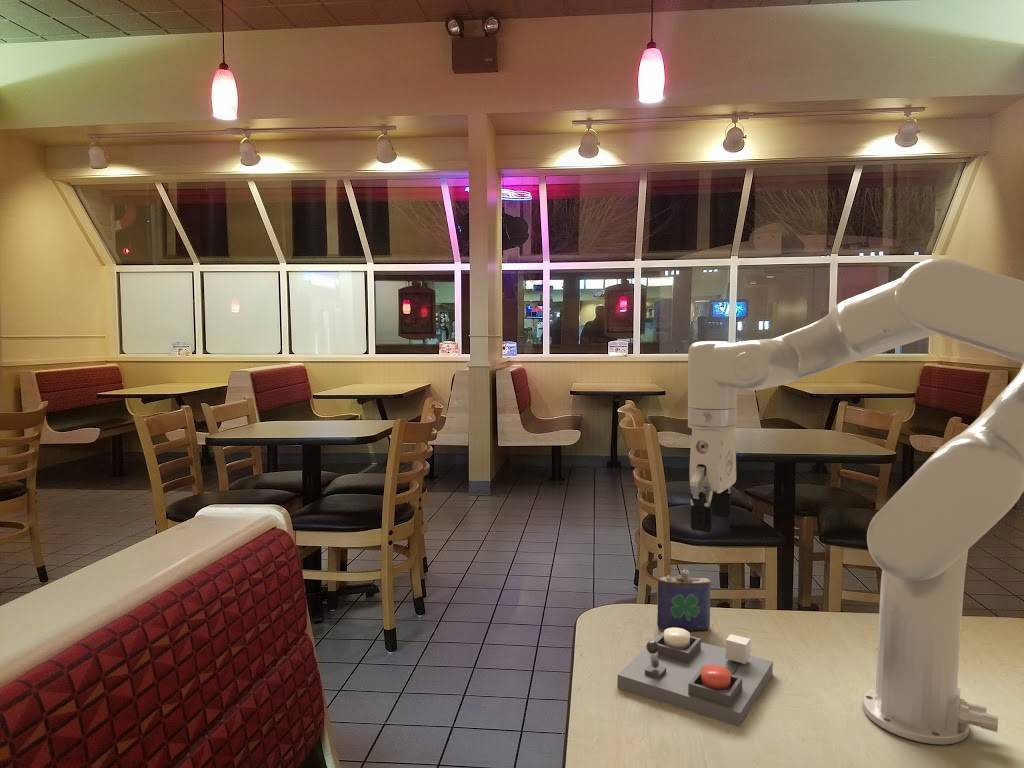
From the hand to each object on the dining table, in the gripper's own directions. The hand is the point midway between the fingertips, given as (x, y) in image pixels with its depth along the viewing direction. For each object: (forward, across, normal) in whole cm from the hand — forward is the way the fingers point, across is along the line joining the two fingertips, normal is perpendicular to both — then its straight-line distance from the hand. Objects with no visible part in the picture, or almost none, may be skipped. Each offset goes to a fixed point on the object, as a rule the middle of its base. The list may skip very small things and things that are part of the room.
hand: (711, 523), depth 112 cm
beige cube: (+19, -5, -6) cm, 21 cm away
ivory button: (+18, -7, +3) cm, 20 cm away
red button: (+18, -16, -6) cm, 25 cm away
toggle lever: (+18, -15, +3) cm, 24 cm away
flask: (+22, +6, +7) cm, 23 cm away
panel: (+22, -10, -1) cm, 24 cm away
